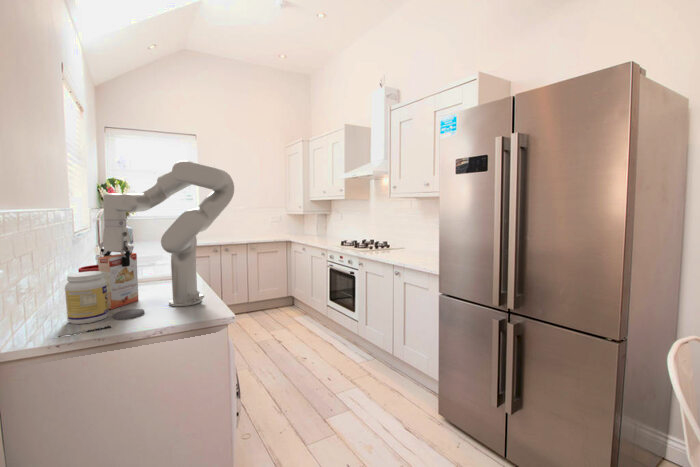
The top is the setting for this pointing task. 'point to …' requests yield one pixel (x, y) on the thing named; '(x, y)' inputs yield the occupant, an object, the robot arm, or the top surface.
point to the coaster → (128, 314)
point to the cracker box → (119, 279)
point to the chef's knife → (91, 330)
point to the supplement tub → (86, 297)
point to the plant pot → (89, 268)
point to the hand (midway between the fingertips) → (116, 265)
